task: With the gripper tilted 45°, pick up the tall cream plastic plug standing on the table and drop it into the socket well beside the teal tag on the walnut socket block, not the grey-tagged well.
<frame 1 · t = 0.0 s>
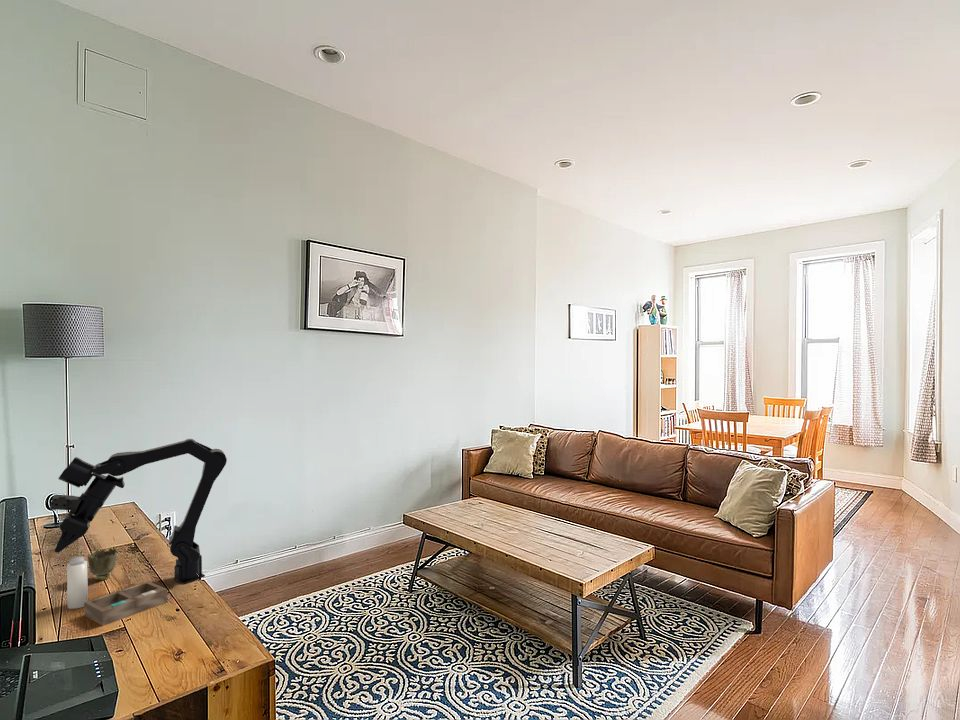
hand: (59, 546, 152), 15 cm above the table, tool tilted 35°, fingers open, 9 cm apart
plug: (77, 605, 149), on the table
socket block: (125, 608, 147), on the table
cup: (102, 579, 167), on the table
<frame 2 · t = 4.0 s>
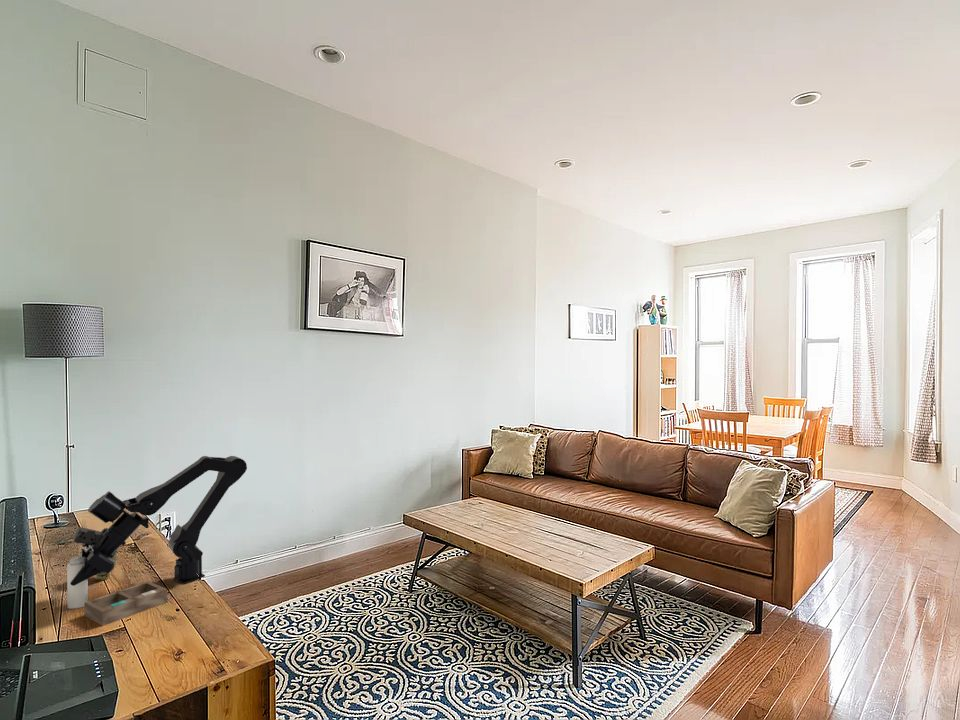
hand: (70, 582, 148), 7 cm above the table, tool tilted 45°, fingers closed on plug, 4 cm apart
plug: (77, 605, 149), on the table, touching gripper
everything else where it was.
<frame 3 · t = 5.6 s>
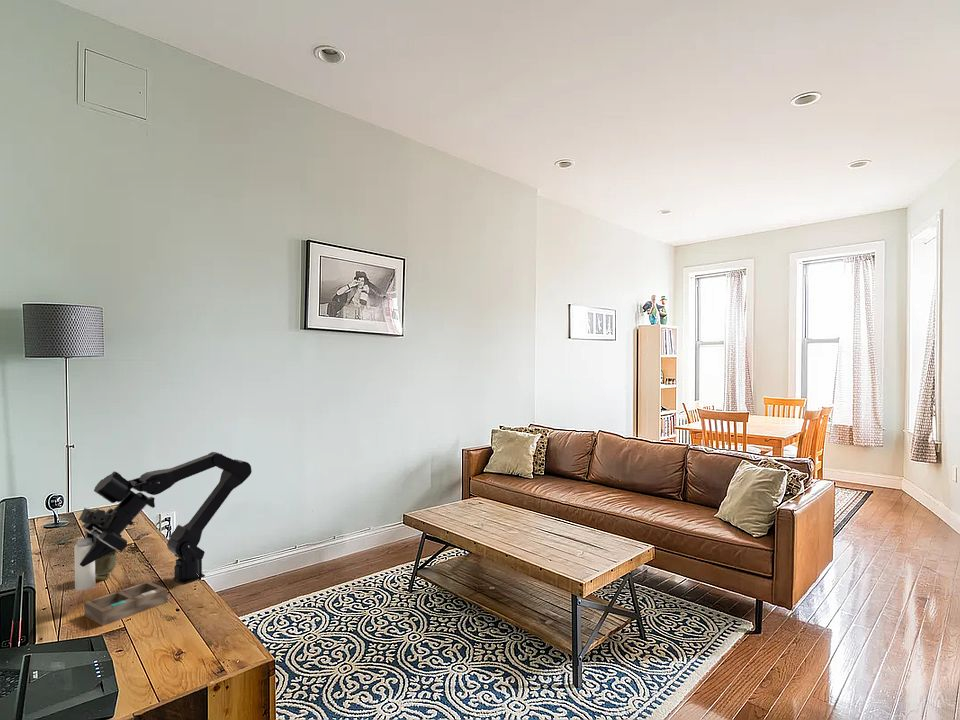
hand: (78, 563, 146), 12 cm above the table, tool tilted 45°, fingers closed on plug, 4 cm apart
plug: (85, 586, 147), point 6 cm above the table, touching gripper
everything else where it was.
when the fingers open (9 cm above the table, at t = 7.5 s): plug drops 2 cm, resting in socket block.
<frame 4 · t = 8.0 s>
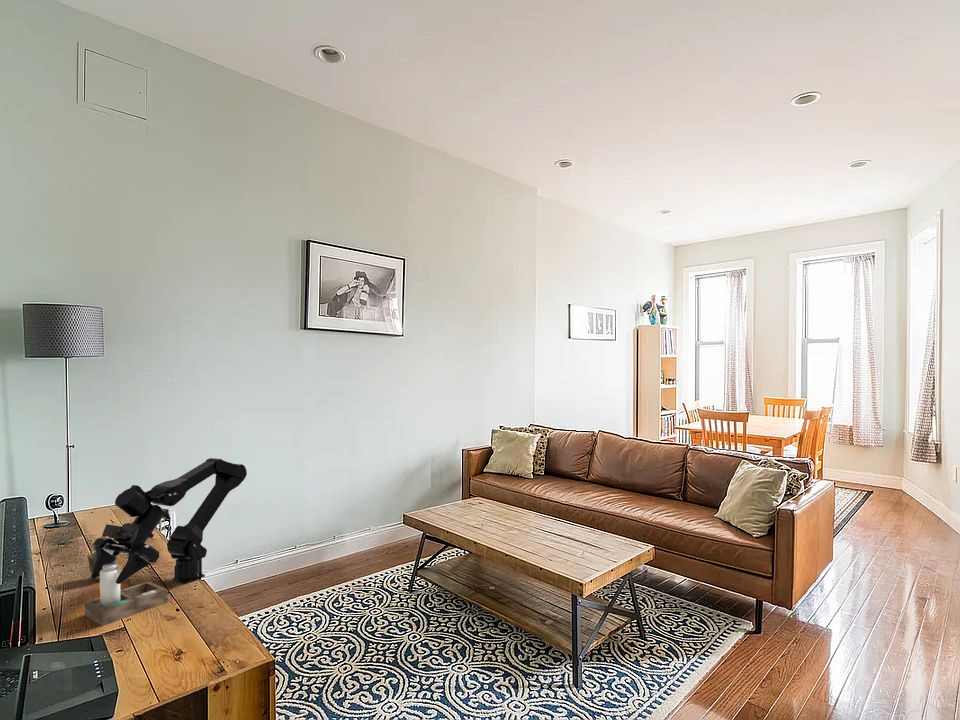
hand: (104, 580, 143), 9 cm above the table, tool tilted 45°, fingers open, 9 cm apart
plug: (110, 613, 144), resting in socket block
everything else where it was.
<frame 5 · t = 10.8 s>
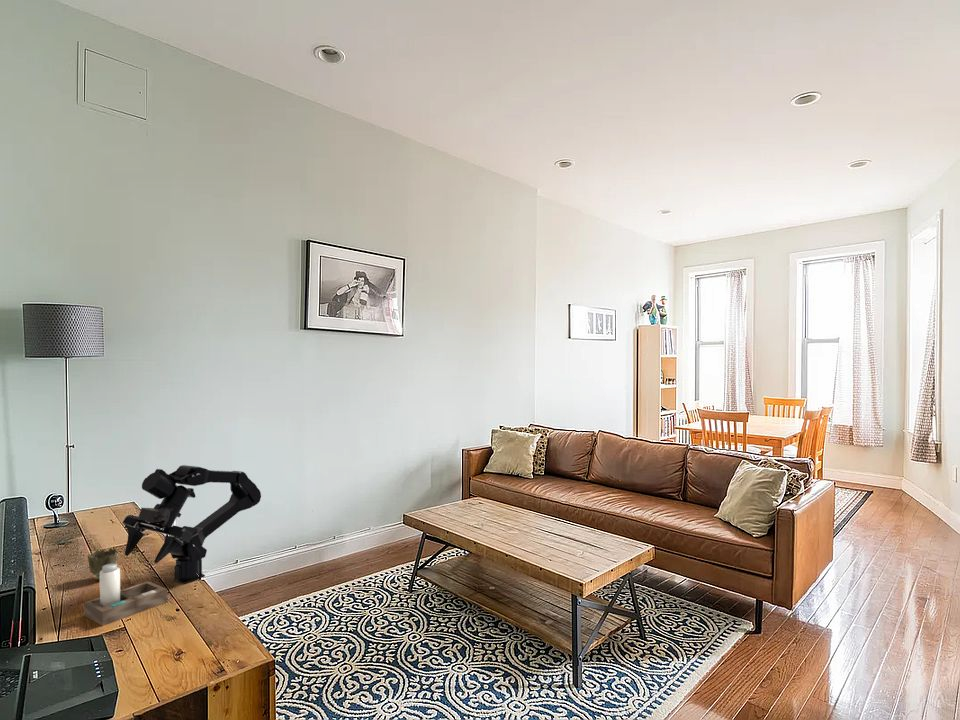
hand: (140, 559, 153), 11 cm above the table, tool tilted 40°, fingers open, 9 cm apart
nothing on the table moved.
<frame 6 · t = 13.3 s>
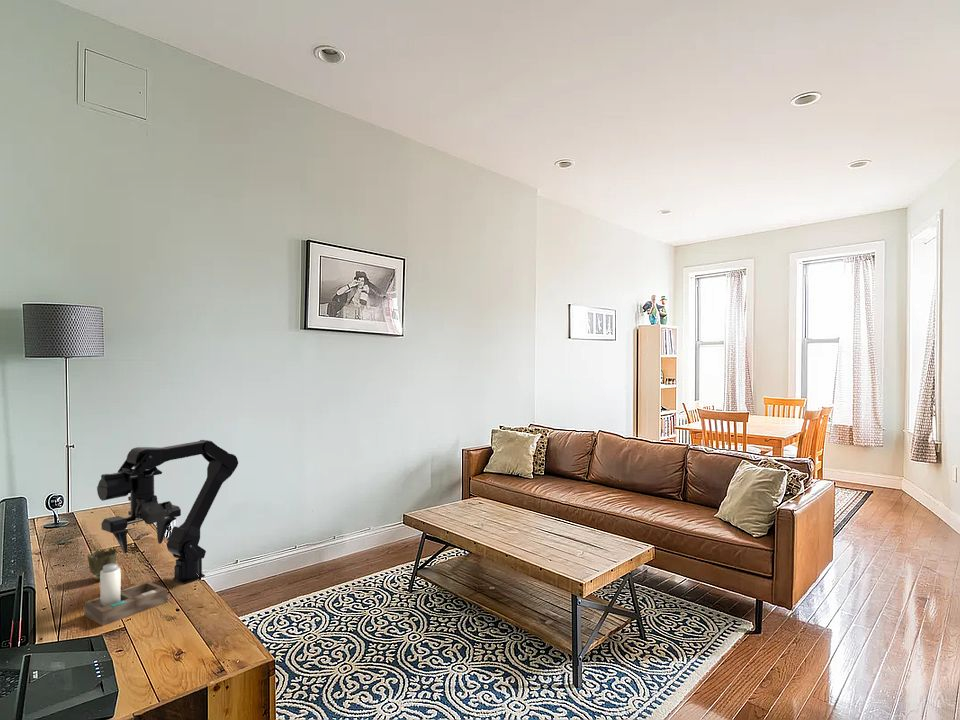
hand: (143, 548, 156), 13 cm above the table, tool pointing down, fingers open, 9 cm apart
nothing on the table moved.
at the end: plug 0.1 cm from the target spot on the socket block, point 0.0 cm above the socket block's base; plug tilted 0°; the gripper is holding nothing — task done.
